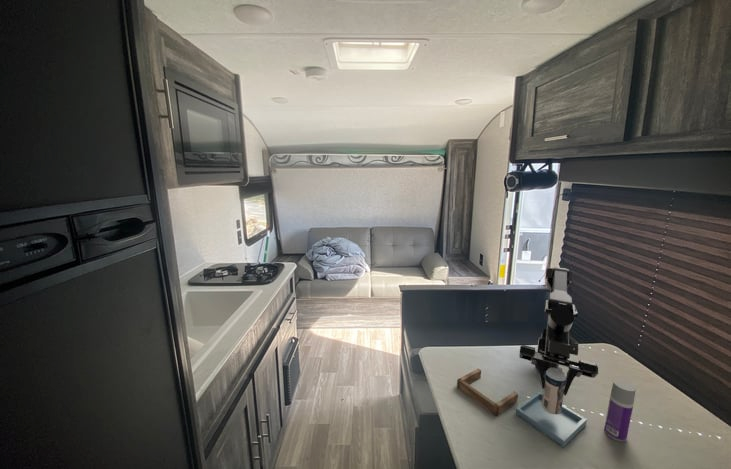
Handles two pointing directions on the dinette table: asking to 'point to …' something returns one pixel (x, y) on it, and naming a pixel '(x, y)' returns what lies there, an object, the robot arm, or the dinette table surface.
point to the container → (619, 410)
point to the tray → (551, 420)
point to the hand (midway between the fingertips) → (553, 391)
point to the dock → (482, 399)
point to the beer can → (553, 391)
